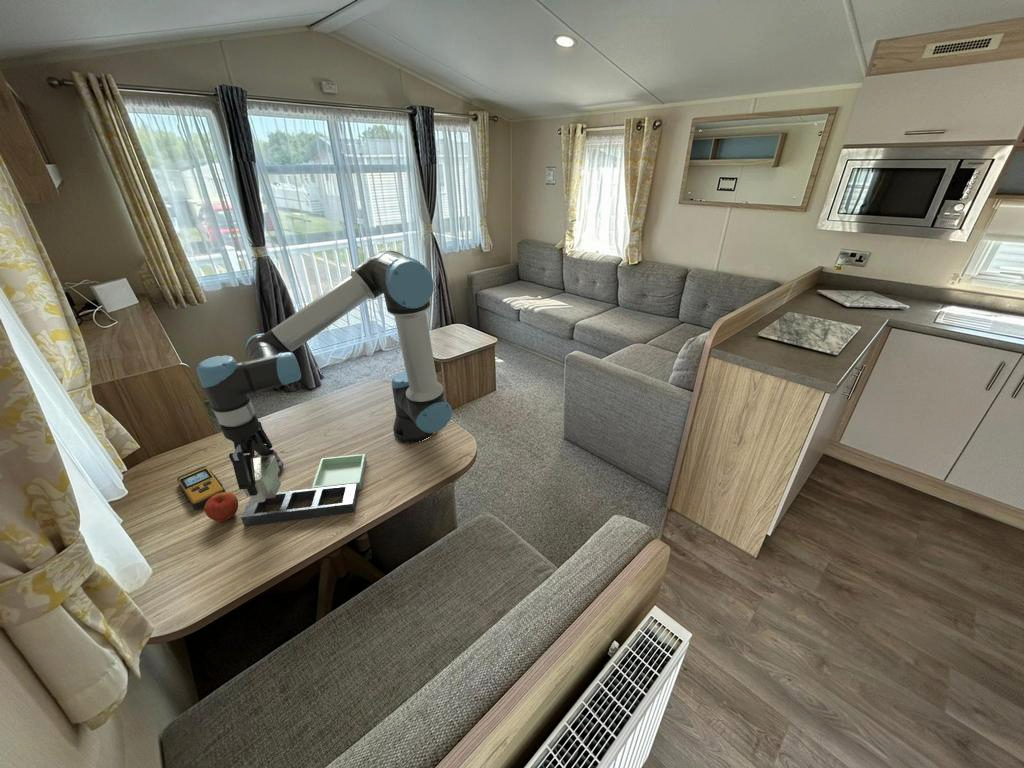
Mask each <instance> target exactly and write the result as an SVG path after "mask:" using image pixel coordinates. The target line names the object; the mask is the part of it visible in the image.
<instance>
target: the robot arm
mask: <svg viewBox="0 0 1024 768" xmlns="http://www.w3.org/2000/svg"><path fill="white" fill-rule="evenodd" d="M350 271H351V272H350V274H349V275H350V276H348V277H346V278H345V279H343V280H342V281H340V282H339V283H338V284H336V285H335V286H333V287H332V288H330V289H328V290H327V291H326V292H324V293H323V294H321V295H320V296H318V297H317V298H315V299H314V300H313V301H311V302H309V303H308V304H306V305H305V306H304V307H303V308H301V309H299V310H298V311H297V312H295V313H293V314H292V315H290V316H289V317H288V318H286V319H285V320H283V321H281V322H280V323H279V324H277V325H275V326H274V327H273V328H271V329H270V330H269V331H268V330H267V332H265V333H257V334H253V335H251V336H250V337H249V338H248V339H247V341H246V344H245V352H246V357H247V358H248V360H246V361H241V362H237V361H236V359H235V358H234V357H233V356H231V355H221V356H220V355H216V356H212V357H209V358H207V359H204V360H202V361H200V363H198V365H197V366H196V373H197V376H198V379H199V381H200V384H201V387H202V389H203V392H204V394H205V396H206V398H207V400H208V403H209V404H210V407H211V409H212V413H214V415H215V417H216V419H217V422H218V424H219V427H220V430H221V431H222V434H223V436H224V438H225V439H226V440H228V441H232V443H233V446H234V451H233V452H231V453H229V454H228V458H229V459H230V461H231V463H232V467H233V471H234V473H235V474H234V475H235V478H236V482H237V487H238V489H239V491H240V490H243V489H247V491H248V493H249V495H250V496H249V498H251V499H252V502H253V503H259V502H265V500H266V499H265V497H264V494H263V492H262V490H261V487H260V485H259V483H258V481H255V472H254V464H253V457H254V456H255V455H256V454H257V453H258V454H259V455H262V456H260V457H268V456H271V455H270V454H274V451H275V450H274V449H272V448H273V444H272V442H271V440H270V439H269V436H267V434H266V432H265V430H264V428H263V426H262V422H261V421H259V420H258V417H257V414H256V410H255V409H254V406H253V403H252V401H251V398H250V396H249V395H250V394H254V393H258V392H261V391H265V390H269V389H274V388H278V387H282V386H287V385H289V384H292V383H295V382H298V381H300V380H301V379H302V373H301V369H300V366H299V363H298V360H297V357H296V355H295V353H293V352H294V351H296V350H297V349H298V348H299V347H302V346H303V345H304V344H306V343H307V342H308V341H310V340H311V339H312V338H314V337H316V336H317V335H318V334H320V333H321V332H323V331H324V330H325V329H327V328H328V327H330V326H331V325H333V324H334V323H335V322H337V321H338V320H339V319H341V318H343V317H344V316H346V315H347V314H348V313H350V312H351V311H353V310H354V309H355V308H357V307H358V306H360V305H361V304H362V303H364V302H365V301H367V300H368V299H370V300H375V299H377V298H378V297H379V296H381V295H384V301H385V306H386V310H387V313H388V314H390V315H392V316H394V320H395V321H394V322H395V325H396V326H395V327H396V329H397V335H398V339H399V344H400V348H401V354H402V358H403V363H404V367H405V368H404V369H405V371H402V372H399V373H397V374H396V375H395V376H393V377H392V379H391V388H392V394H393V396H392V397H393V401H394V409H395V414H396V415H395V419H394V422H393V423H394V424H393V428H392V429H393V435H394V437H395V439H397V440H398V441H400V442H401V443H405V442H409V443H408V444H412V443H411V442H418V443H420V442H419V441H422V440H424V439H426V438H428V437H430V436H431V435H432V434H433V433H434V432H435V433H437V432H439V431H441V430H443V429H444V428H445V427H446V426H447V425H448V423H449V422H450V421H451V420H452V417H453V408H452V407H451V405H450V402H449V403H448V402H447V400H446V397H445V390H444V386H443V384H442V383H441V382H439V381H438V377H437V372H436V367H435V360H434V353H433V348H432V347H433V346H432V342H431V341H432V340H431V335H430V328H429V324H428V318H427V311H428V310H429V309H430V307H431V302H430V301H431V300H430V299H431V296H433V293H434V286H435V284H434V279H433V277H432V273H431V272H430V271H429V269H428V268H427V267H426V266H425V265H423V263H421V262H420V261H419V260H417V259H415V258H413V257H408V256H406V255H404V254H402V252H401V253H400V252H399V251H395V250H384V251H380V252H378V253H375V254H374V255H372V256H370V257H369V258H367V259H366V260H364V261H363V262H362V263H359V264H358V265H356V266H355V267H354V268H352V269H351V270H350ZM422 442H423V441H422ZM270 449H271V450H270ZM255 452H256V453H255Z"/></svg>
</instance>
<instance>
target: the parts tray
mask: <svg viewBox="0 0 1024 768" xmlns="http://www.w3.org/2000/svg"><path fill="white" fill-rule="evenodd" d="M366 465H367V457H366V454H365V453H362V454H360V453H359V454H352V455H349V454H348V455H342V456H331V457H323V458H321V459H320V462H319V465H318V468H317V471H316V472H315V473H316V474H315V477H314V480H313V483H312V486H311V489H312V488H321V487H330V486H339V485H347V484H356V483H357V487H358V491H361V490H362V486H363V481H364V476H365V472H366V471H365V470H366Z"/></svg>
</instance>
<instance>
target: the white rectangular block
mask: <svg viewBox="0 0 1024 768" xmlns="http://www.w3.org/2000/svg"><path fill="white" fill-rule="evenodd" d="M253 464H254V472H255V481H258V483H259V485H260V487H261V490H262V492H263V494H264V497H265V499H268V498H275V497H276V494H277V492H279V489H280V486H281V484H282V482H281V480H280V478H279V475H278V473H279V471H280V469H279V466H278V464H277V461H276V458H275V456H268V457H259V458H253ZM242 490H243V492H244V494H245V497H246V498H247V497H249V498H250V495H249V493H248V491H247V489H242Z"/></svg>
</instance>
